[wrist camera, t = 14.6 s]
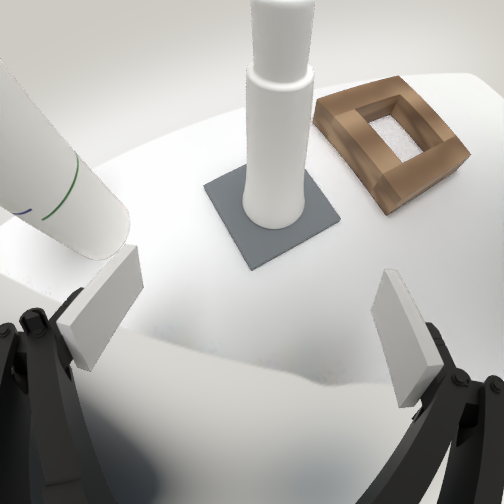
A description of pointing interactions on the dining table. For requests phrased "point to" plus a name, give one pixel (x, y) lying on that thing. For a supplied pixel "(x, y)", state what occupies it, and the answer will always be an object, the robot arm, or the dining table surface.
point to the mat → (259, 238)
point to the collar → (377, 151)
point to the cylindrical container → (53, 180)
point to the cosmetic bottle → (278, 111)
